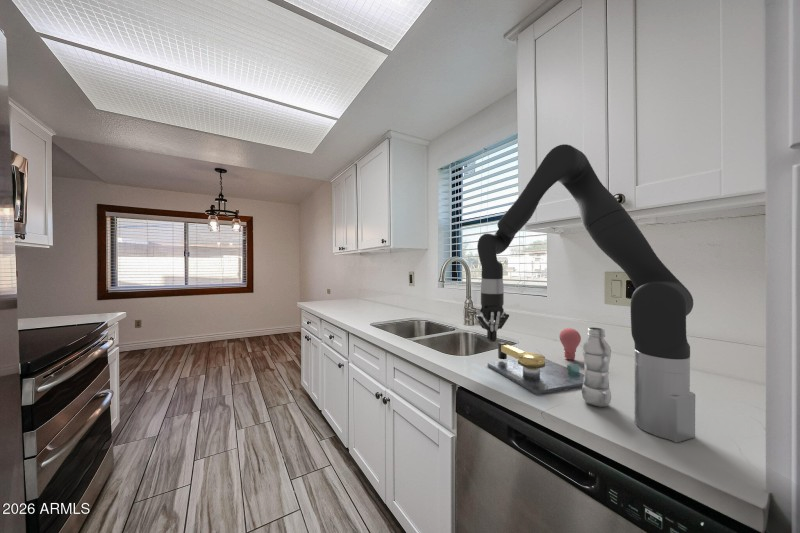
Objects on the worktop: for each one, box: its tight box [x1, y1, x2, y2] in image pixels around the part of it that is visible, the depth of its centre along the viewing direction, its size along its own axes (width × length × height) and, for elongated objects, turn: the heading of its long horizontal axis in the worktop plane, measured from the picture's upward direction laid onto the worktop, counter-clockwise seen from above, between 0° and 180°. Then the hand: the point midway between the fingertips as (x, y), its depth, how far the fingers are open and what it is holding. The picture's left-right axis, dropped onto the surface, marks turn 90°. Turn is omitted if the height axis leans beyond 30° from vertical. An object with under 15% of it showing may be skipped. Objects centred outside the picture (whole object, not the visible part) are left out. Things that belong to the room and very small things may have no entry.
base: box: [487, 358, 584, 396], centre depth 97 cm, size 24×23×5 cm
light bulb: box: [559, 327, 582, 361], centre depth 111 cm, size 7×7×12 cm
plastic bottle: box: [581, 326, 612, 408], centre depth 76 cm, size 6×7×20 cm
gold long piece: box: [497, 341, 546, 368], centre depth 98 cm, size 20×8×6 cm, turn 17°
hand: (492, 341), depth 100 cm, fingers closed
